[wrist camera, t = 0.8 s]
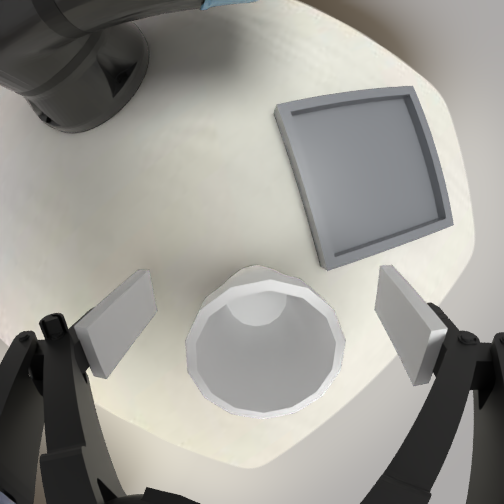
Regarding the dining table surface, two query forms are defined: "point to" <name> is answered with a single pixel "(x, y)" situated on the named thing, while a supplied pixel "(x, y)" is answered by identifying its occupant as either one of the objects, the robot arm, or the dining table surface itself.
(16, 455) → the robot arm
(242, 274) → the foam cup
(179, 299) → the dining table surface
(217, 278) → the dining table surface
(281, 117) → the serving tray
